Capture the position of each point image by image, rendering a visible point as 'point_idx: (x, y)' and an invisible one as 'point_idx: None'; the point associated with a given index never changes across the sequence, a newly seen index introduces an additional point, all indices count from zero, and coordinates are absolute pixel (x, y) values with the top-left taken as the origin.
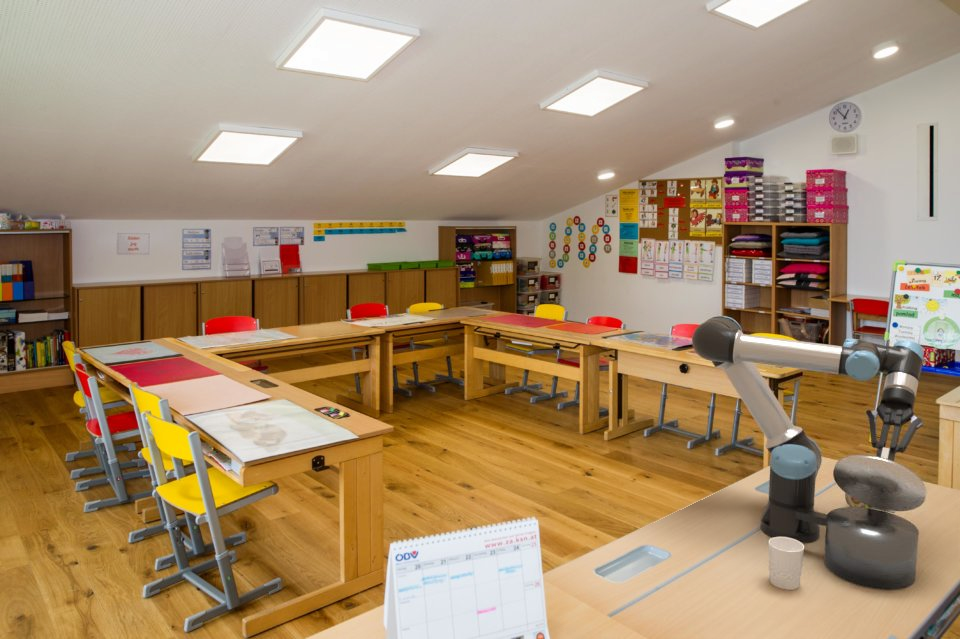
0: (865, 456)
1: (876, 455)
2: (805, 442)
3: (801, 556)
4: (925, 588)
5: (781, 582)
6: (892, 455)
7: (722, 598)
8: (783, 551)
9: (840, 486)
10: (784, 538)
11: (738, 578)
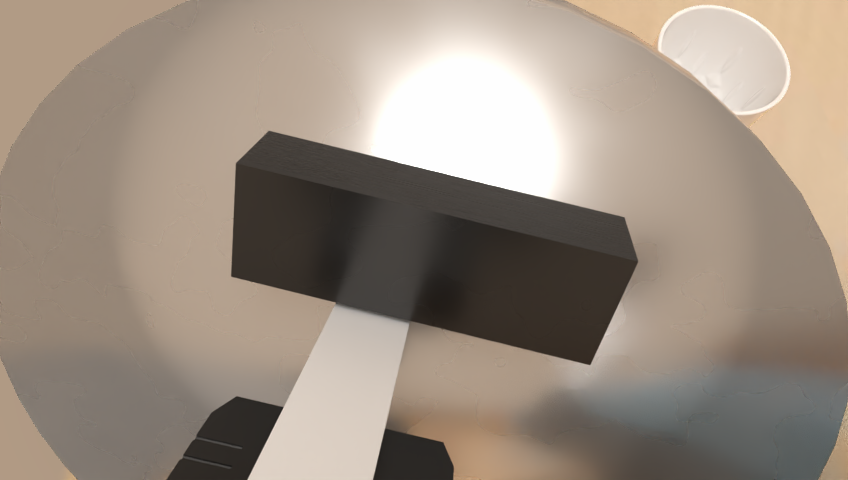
0: (608, 28)
1: (450, 478)
2: None
3: None
4: None
5: None
6: (200, 473)
7: (770, 10)
8: (715, 7)
9: None
10: (745, 113)
11: (776, 124)
